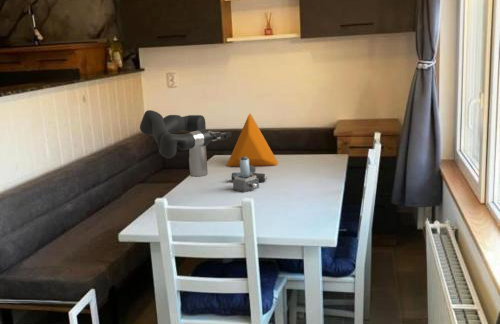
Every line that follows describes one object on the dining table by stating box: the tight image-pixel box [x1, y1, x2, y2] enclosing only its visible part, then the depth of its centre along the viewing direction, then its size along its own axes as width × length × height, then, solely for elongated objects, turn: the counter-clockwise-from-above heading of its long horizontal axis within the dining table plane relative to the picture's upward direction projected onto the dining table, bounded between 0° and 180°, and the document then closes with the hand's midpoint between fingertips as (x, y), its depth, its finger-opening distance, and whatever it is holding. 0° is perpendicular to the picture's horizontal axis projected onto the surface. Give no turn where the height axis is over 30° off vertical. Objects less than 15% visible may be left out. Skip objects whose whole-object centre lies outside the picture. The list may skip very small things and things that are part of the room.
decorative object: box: [226, 113, 279, 167], centre depth 322 cm, size 30×15×30 cm, turn 82°
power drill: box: [231, 165, 268, 183], centre depth 295 cm, size 5×19×20 cm
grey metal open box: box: [232, 174, 260, 193], centre depth 274 cm, size 11×10×6 cm
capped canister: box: [239, 156, 250, 178], centre depth 273 cm, size 5×5×11 cm
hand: (224, 133), depth 260 cm, fingers open, 8 cm apart
